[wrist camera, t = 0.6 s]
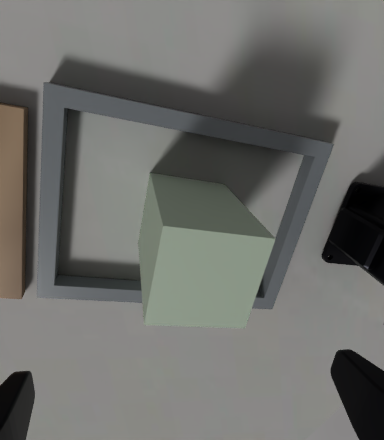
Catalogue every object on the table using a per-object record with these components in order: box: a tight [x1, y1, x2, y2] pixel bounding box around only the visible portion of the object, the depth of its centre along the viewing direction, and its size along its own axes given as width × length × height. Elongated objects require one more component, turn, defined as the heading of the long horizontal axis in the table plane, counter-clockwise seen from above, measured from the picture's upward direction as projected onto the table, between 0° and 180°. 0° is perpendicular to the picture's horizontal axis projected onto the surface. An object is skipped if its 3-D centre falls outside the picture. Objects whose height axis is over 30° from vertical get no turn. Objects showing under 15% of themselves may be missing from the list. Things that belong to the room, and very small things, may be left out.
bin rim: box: [37, 82, 334, 309], centre depth 20 cm, size 17×13×1 cm
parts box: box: [138, 173, 275, 328], centre depth 18 cm, size 5×5×8 cm
